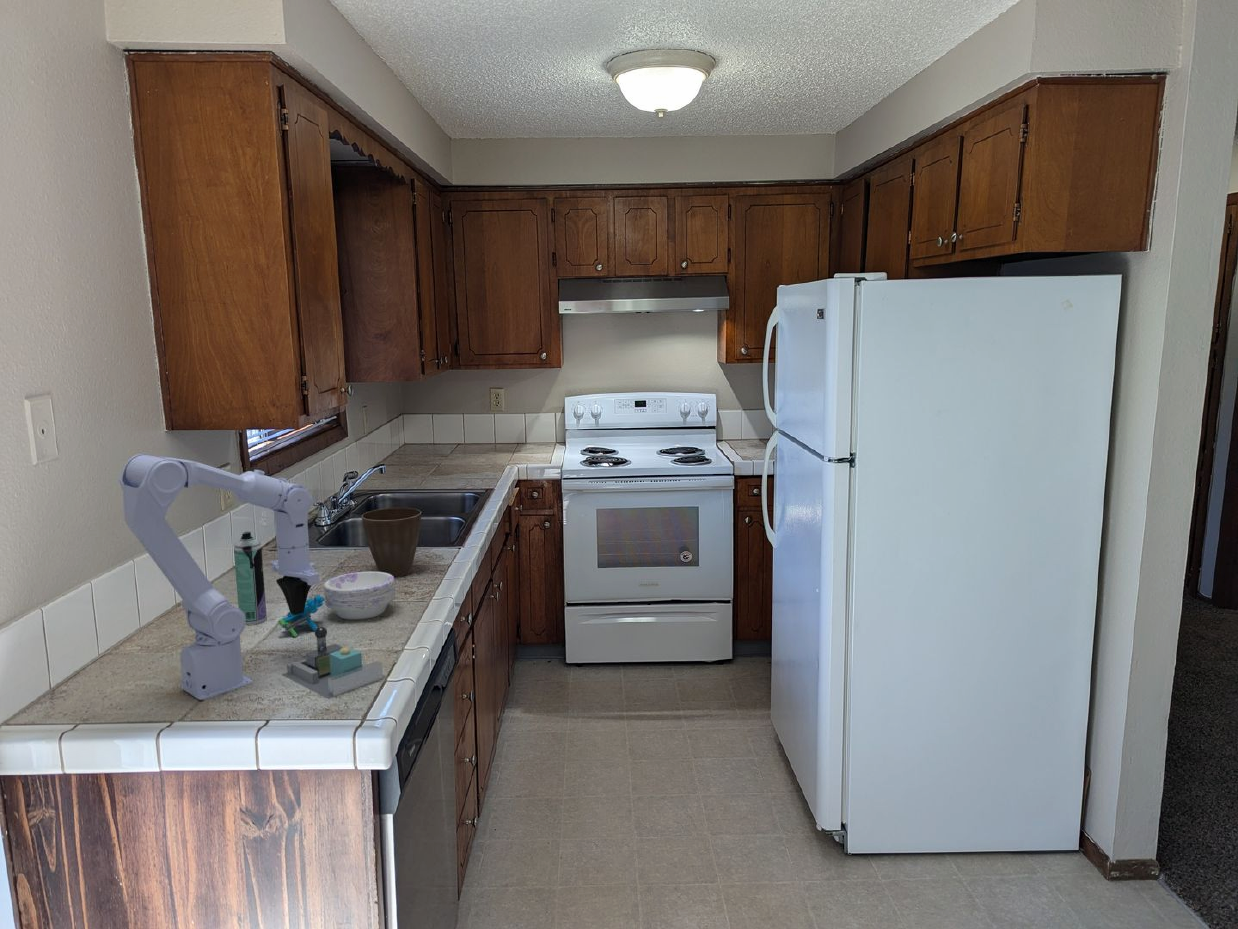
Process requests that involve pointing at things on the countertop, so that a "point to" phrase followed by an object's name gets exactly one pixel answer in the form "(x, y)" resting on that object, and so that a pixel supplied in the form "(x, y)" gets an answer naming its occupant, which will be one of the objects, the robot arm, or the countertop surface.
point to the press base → (333, 678)
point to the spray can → (250, 579)
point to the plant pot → (392, 538)
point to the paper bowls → (359, 594)
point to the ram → (321, 653)
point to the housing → (344, 660)
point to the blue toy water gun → (302, 615)
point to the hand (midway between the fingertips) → (297, 613)
